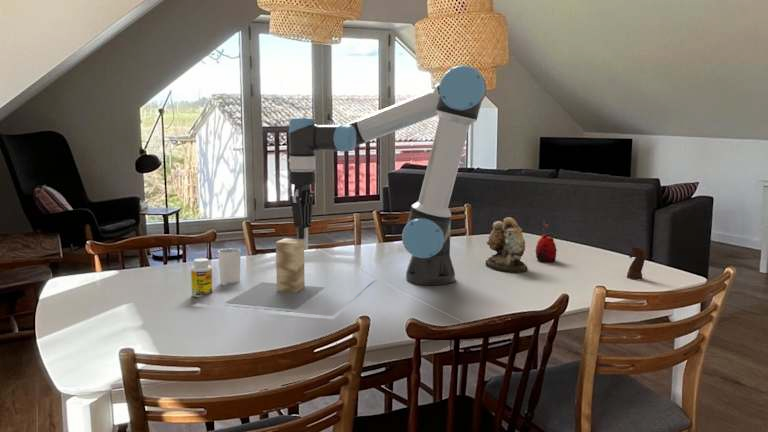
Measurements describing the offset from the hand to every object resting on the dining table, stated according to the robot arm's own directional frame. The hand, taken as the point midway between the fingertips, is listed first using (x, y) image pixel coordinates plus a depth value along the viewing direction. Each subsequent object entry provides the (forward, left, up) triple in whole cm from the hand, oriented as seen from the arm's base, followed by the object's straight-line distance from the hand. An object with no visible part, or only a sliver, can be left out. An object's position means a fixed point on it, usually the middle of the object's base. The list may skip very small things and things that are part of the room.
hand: (303, 248), depth 190 cm
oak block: (0, +10, -10) cm, 14 cm away
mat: (+1, +17, -11) cm, 20 cm away
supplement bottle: (+22, +21, -11) cm, 32 cm away
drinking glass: (+21, +7, -11) cm, 24 cm away
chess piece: (-98, -36, -11) cm, 105 cm away
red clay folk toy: (-70, -53, -11) cm, 89 cm away
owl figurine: (-57, -39, -11) cm, 70 cm away
